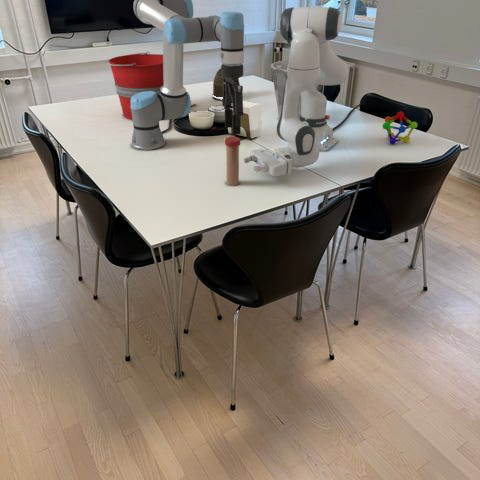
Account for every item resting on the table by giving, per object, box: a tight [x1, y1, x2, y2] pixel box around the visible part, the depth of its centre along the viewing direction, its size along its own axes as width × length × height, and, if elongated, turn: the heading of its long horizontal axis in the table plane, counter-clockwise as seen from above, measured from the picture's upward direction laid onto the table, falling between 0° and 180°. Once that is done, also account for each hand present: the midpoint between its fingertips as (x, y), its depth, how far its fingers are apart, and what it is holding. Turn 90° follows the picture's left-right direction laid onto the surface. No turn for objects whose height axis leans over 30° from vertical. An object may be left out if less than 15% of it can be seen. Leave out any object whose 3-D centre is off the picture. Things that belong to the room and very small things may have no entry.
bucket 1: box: [105, 51, 164, 121], centre depth 241 cm, size 35×35×30 cm
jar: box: [225, 145, 240, 187], centre depth 167 cm, size 5×5×17 cm
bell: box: [212, 68, 234, 97], centre depth 278 cm, size 19×26×20 cm
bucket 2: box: [270, 60, 325, 120], centre depth 235 cm, size 30×30×28 cm
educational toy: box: [382, 110, 418, 145], centre depth 207 cm, size 16×13×15 cm
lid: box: [224, 136, 241, 147], centre depth 162 cm, size 6×6×2 cm
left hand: (232, 130), depth 160 cm, fingers open, 7 cm apart
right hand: (249, 164), depth 170 cm, fingers open, 8 cm apart
